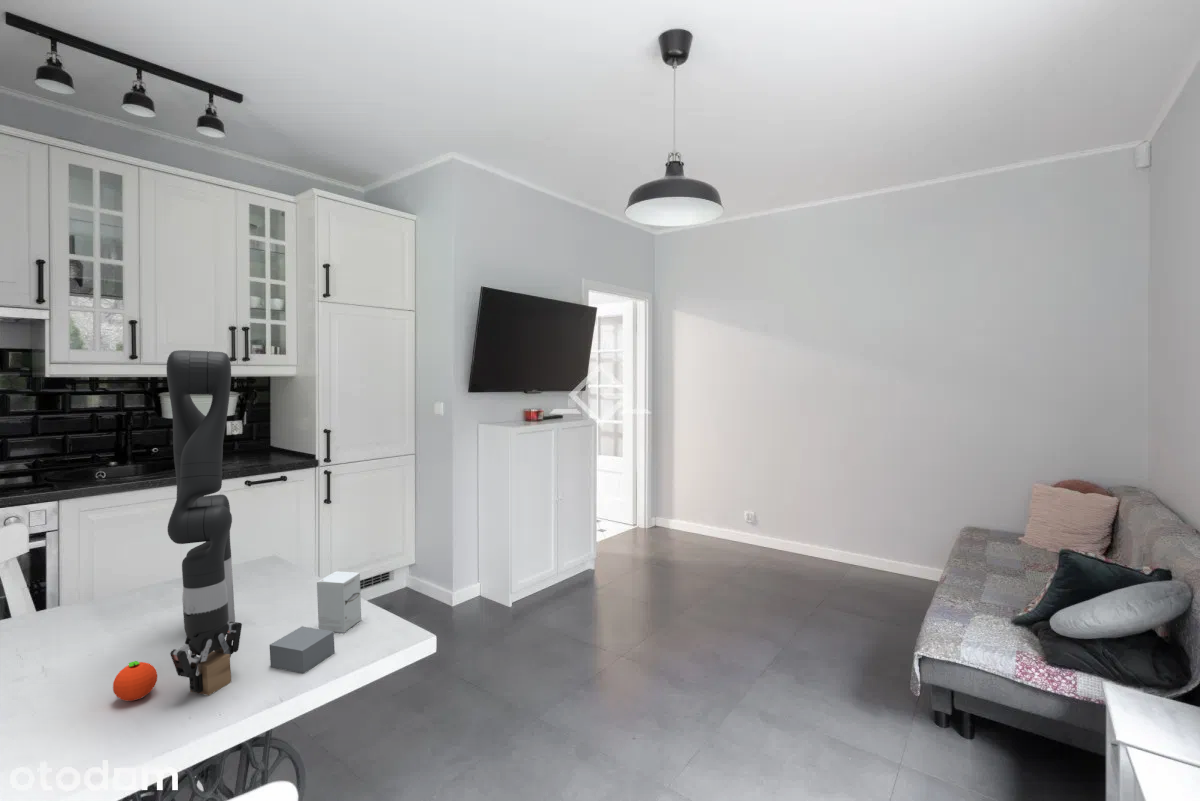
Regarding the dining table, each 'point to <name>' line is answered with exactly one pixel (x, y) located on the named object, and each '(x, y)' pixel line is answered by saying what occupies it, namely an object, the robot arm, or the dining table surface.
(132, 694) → the clementine
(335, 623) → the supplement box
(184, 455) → the robot arm
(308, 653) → the base
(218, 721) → the dining table surface
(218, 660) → the walnut block
